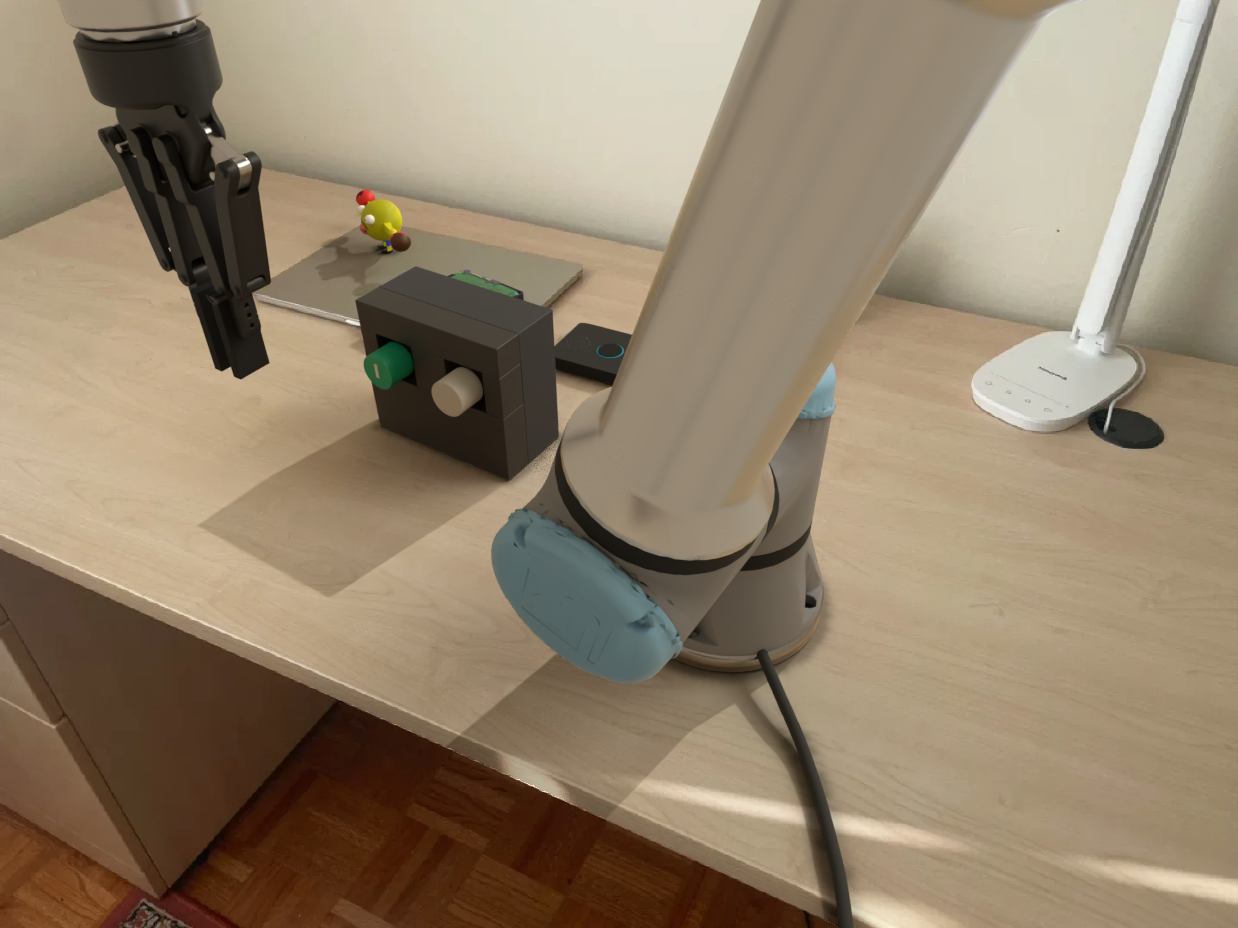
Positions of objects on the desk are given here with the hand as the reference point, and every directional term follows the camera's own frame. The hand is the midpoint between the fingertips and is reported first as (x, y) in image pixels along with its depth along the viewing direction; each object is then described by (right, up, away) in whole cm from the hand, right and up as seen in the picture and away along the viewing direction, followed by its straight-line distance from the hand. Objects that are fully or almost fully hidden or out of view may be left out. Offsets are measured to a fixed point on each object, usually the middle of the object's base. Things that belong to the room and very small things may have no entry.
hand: (242, 365), depth 68 cm
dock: (+13, -4, +21) cm, 25 cm away
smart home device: (+31, +2, +30) cm, 43 cm away
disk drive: (+9, +9, +38) cm, 40 cm away
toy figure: (-3, +21, +53) cm, 57 cm away
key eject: (+14, -2, +12) cm, 18 cm away
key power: (+7, 0, +15) cm, 17 cm away
